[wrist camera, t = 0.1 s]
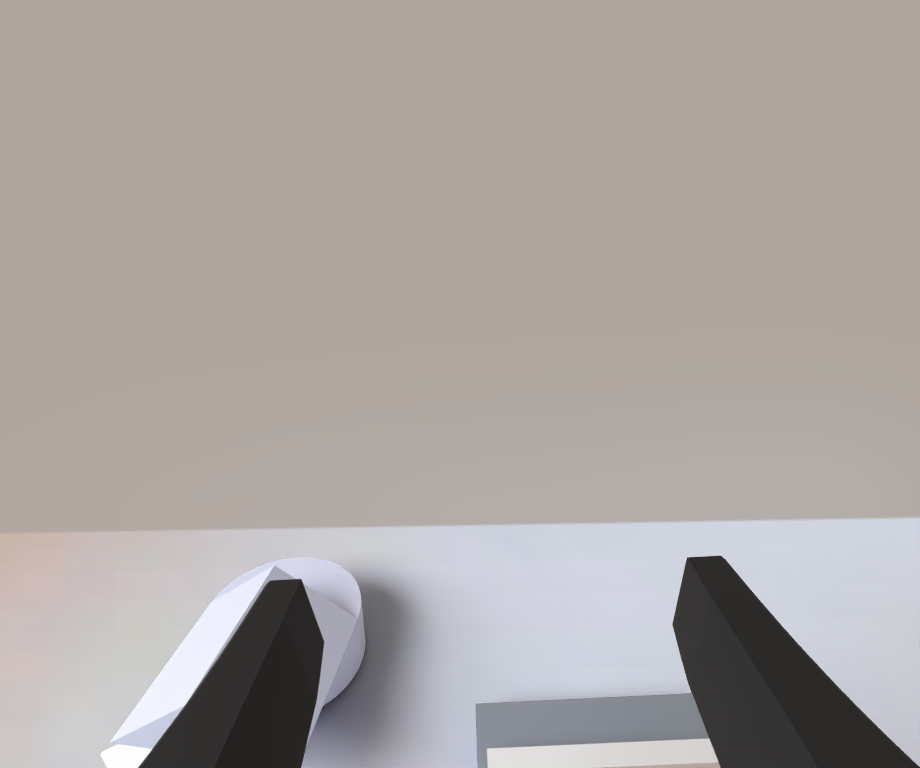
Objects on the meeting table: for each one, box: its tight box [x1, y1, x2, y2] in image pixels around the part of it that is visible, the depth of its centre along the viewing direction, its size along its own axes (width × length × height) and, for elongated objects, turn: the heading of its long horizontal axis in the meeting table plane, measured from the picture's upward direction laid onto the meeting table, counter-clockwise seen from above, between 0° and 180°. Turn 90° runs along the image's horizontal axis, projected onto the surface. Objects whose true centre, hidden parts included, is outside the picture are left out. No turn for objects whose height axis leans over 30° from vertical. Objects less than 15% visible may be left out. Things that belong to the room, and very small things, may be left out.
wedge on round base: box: [110, 557, 366, 749], centre depth 31 cm, size 9×7×13 cm
